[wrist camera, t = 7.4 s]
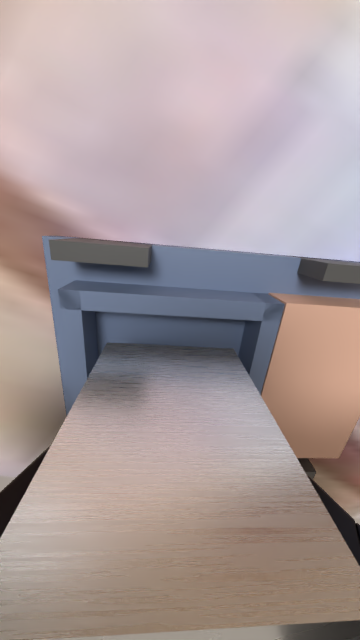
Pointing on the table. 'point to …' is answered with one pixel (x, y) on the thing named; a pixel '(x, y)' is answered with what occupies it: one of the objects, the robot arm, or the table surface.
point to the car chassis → (220, 323)
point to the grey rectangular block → (174, 515)
